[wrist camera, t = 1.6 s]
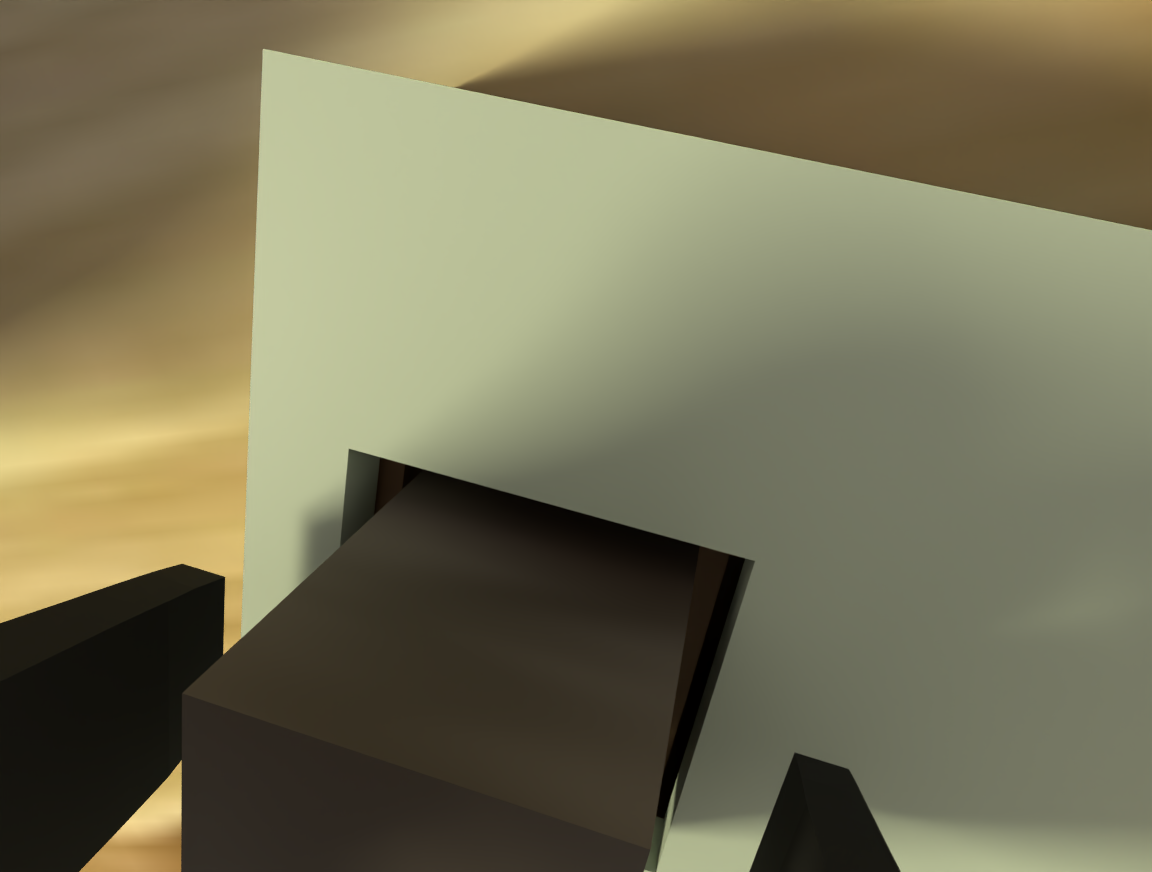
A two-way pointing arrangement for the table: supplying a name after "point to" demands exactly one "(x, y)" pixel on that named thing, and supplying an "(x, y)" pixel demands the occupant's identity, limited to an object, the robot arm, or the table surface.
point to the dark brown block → (446, 698)
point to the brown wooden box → (701, 639)
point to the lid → (744, 438)
